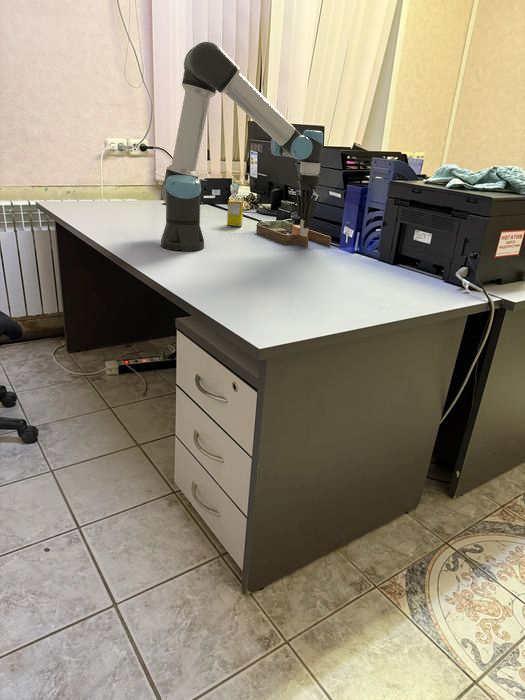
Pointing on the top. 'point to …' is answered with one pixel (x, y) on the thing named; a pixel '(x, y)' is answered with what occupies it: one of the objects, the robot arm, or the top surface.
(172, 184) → the robot arm
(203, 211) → the top surface
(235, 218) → the supplement box
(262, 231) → the trap lane
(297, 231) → the terracotta block
